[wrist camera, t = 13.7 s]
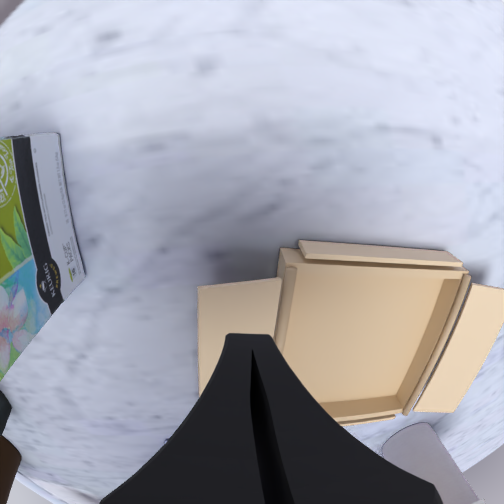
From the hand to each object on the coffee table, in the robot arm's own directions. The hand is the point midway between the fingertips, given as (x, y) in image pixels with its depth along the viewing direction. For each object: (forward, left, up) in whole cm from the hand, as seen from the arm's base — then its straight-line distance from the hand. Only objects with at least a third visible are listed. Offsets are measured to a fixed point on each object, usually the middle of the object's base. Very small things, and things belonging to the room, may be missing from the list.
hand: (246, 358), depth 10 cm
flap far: (-7, -15, -7) cm, 18 cm away
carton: (-7, -9, -10) cm, 15 cm away
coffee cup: (-23, -21, -10) cm, 33 cm away
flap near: (-7, -3, -7) cm, 11 cm away
